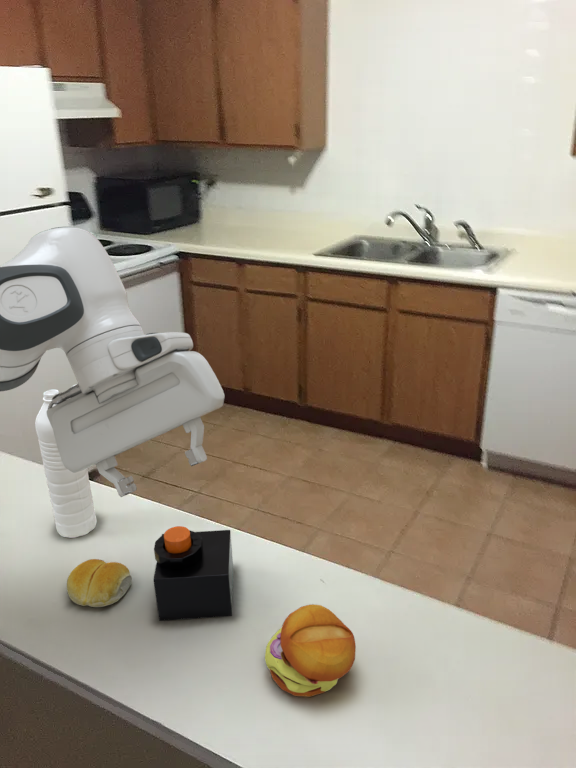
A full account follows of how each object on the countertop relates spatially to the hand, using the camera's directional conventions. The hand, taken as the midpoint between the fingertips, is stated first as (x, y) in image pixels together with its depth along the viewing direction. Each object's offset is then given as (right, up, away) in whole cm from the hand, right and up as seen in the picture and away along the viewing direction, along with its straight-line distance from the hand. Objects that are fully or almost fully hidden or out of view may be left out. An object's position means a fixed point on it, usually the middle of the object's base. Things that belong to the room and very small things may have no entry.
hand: (163, 478), depth 74 cm
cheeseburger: (+17, -25, +9) cm, 31 cm away
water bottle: (-21, -13, +38) cm, 45 cm away
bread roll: (-14, -20, +24) cm, 34 cm away
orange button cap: (-1, -12, +18) cm, 22 cm away
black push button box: (+1, -20, +22) cm, 29 cm away
